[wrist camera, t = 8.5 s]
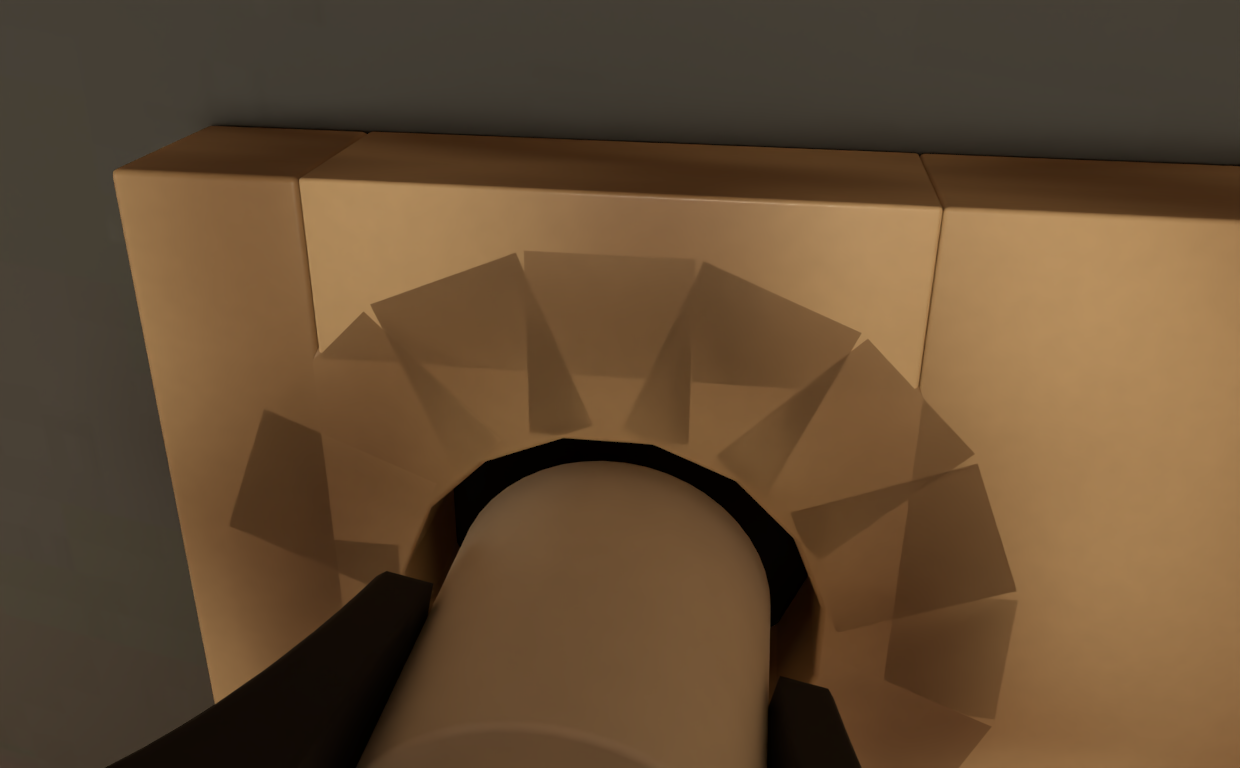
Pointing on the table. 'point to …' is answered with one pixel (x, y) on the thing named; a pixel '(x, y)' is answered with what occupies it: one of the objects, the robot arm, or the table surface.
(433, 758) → the bottle
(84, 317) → the table surface
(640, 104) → the table surface
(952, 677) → the board
